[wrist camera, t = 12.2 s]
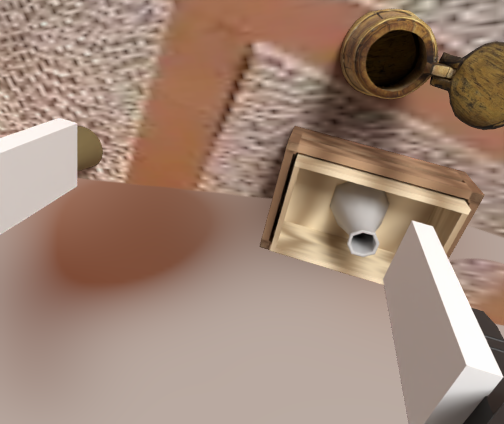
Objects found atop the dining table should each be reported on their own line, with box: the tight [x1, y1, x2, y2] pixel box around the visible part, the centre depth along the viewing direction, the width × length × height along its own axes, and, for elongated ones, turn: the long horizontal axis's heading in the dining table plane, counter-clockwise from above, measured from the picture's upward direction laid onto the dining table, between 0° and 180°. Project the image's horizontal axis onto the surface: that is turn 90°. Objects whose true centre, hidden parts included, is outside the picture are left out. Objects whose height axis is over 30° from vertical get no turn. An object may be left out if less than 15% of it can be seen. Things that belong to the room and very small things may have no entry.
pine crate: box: [270, 152, 471, 285], centre depth 45 cm, size 18×12×8 cm, turn 77°
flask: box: [330, 181, 389, 257], centre depth 44 cm, size 7×7×10 cm
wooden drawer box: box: [260, 126, 484, 259], centre depth 46 cm, size 21×14×7 cm, turn 77°
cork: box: [77, 126, 103, 172], centre depth 50 cm, size 6×6×11 cm
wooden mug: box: [340, 9, 504, 130], centre depth 34 cm, size 9×14×18 cm, turn 78°
